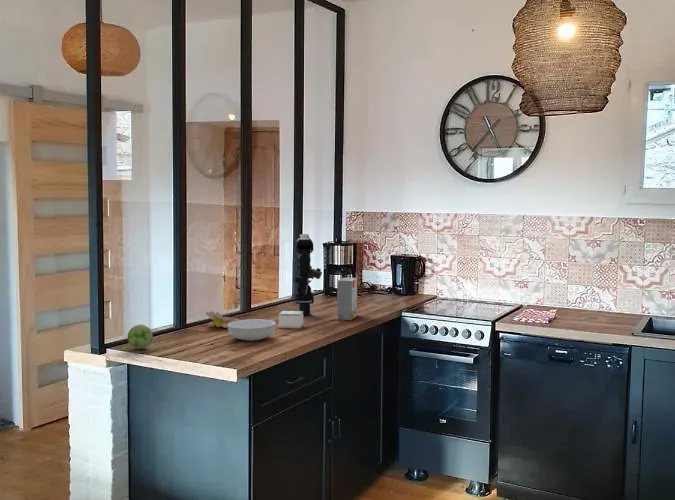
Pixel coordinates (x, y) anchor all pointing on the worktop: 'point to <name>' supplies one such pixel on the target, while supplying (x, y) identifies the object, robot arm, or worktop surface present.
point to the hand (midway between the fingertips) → (304, 295)
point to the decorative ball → (140, 336)
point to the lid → (291, 313)
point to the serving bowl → (251, 329)
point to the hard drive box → (346, 298)
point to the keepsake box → (290, 321)
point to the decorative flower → (219, 319)
